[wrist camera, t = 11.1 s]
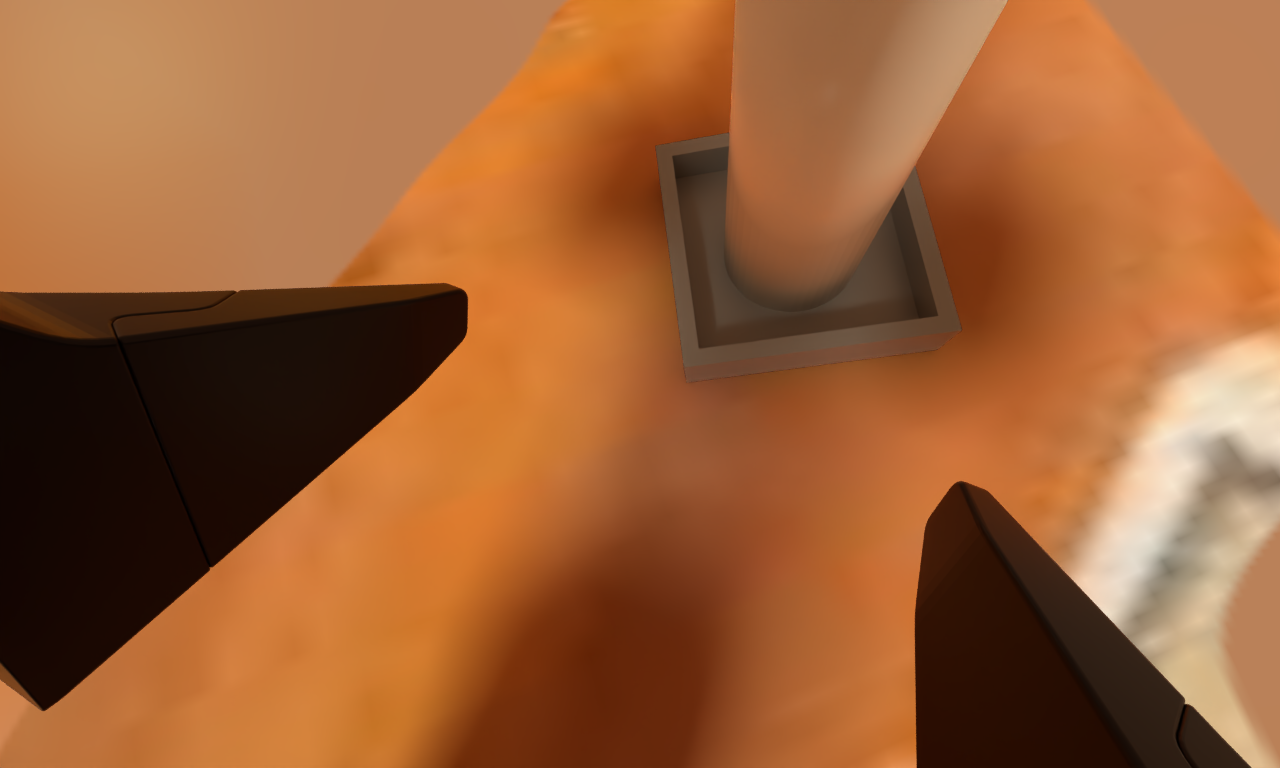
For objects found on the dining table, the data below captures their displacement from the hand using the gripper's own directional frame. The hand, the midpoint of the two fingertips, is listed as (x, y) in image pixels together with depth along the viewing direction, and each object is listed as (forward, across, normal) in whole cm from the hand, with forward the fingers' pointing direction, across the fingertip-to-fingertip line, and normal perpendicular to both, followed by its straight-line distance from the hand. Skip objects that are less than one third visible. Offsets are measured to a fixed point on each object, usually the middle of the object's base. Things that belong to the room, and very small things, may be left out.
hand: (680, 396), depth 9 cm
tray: (+14, 0, +1) cm, 14 cm away
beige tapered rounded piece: (+13, 0, +1) cm, 13 cm away
